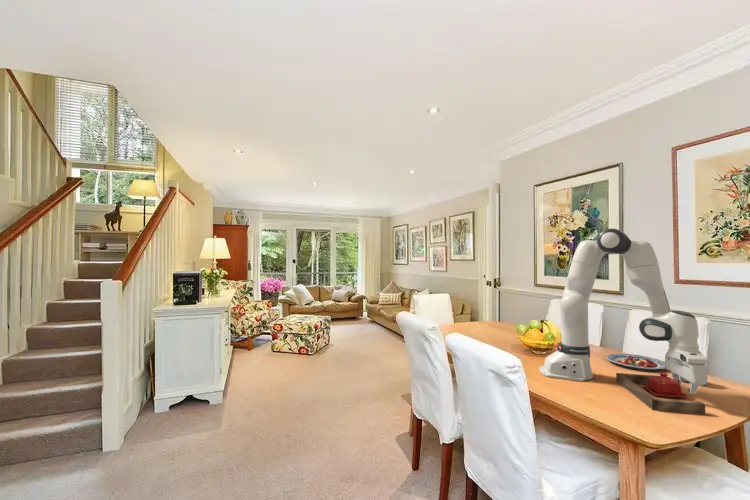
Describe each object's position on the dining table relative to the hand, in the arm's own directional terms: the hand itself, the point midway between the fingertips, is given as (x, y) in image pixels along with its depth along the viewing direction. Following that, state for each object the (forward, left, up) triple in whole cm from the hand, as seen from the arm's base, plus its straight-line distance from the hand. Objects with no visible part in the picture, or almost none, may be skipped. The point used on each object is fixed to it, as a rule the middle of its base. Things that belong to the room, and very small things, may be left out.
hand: (684, 388), depth 135 cm
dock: (-10, 0, -4) cm, 10 cm away
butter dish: (-5, +3, -4) cm, 7 cm away
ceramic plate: (+2, +44, -4) cm, 44 cm away
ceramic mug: (+14, +21, -4) cm, 26 cm away
